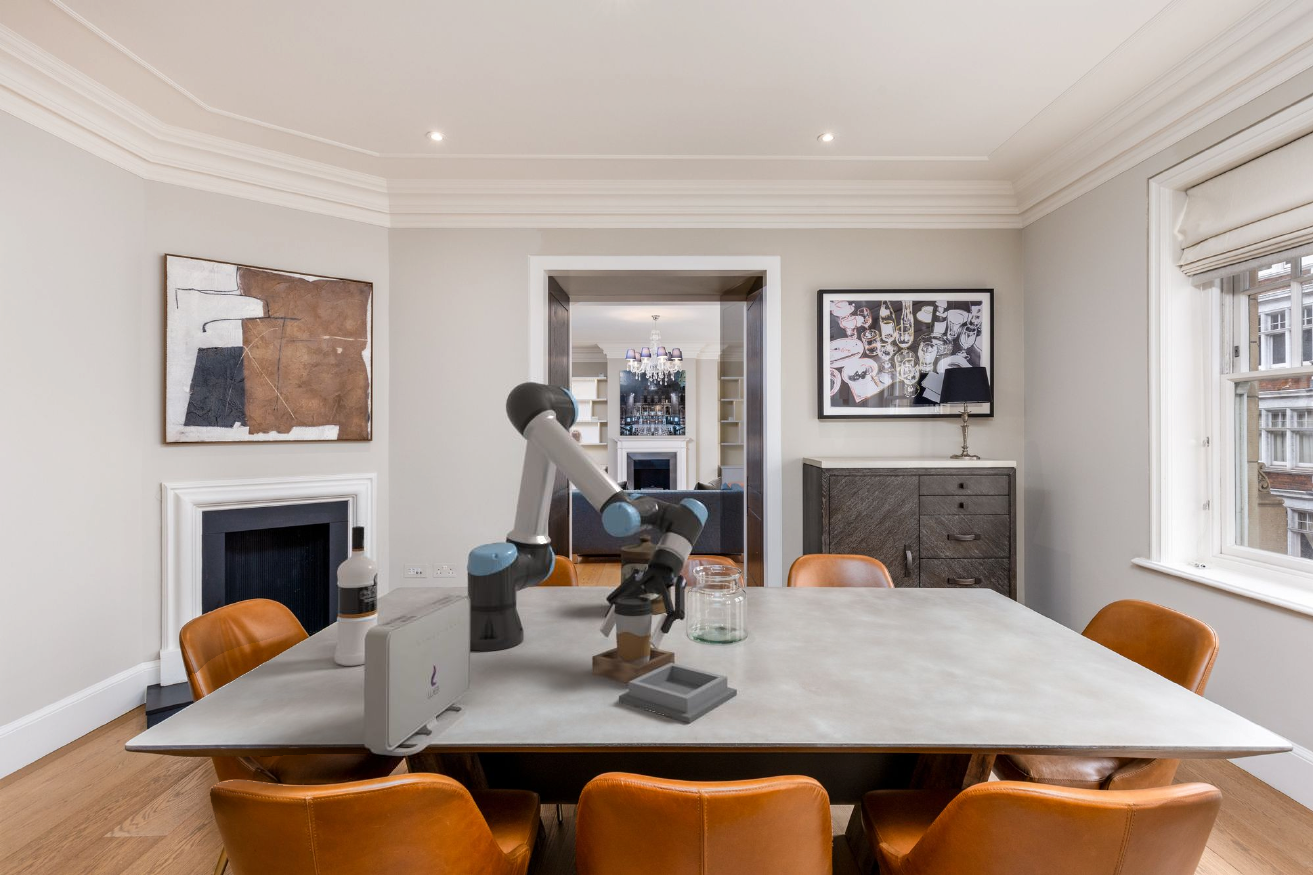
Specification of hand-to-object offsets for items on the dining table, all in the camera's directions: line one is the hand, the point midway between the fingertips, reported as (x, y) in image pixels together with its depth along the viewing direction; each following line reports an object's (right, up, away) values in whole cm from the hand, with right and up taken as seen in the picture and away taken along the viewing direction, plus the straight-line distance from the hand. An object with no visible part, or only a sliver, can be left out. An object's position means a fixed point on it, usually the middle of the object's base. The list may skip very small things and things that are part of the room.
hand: (627, 639), depth 133 cm
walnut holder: (+1, -7, +2) cm, 8 cm away
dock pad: (+10, -7, -13) cm, 18 cm away
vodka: (-61, -8, +9) cm, 62 cm away
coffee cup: (+1, -7, +2) cm, 8 cm away
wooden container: (+3, -9, +55) cm, 55 cm away
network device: (-34, -7, -26) cm, 43 cm away
